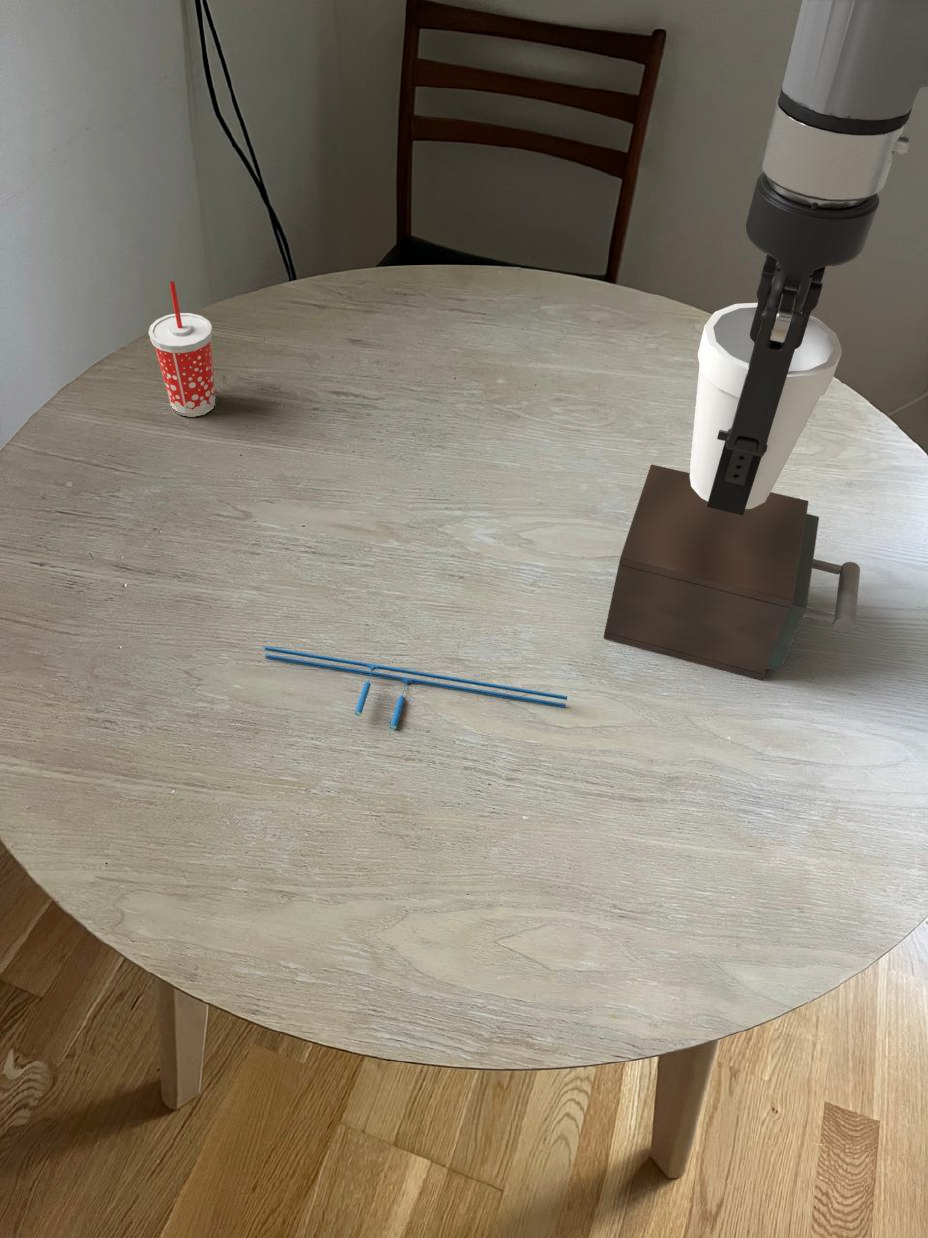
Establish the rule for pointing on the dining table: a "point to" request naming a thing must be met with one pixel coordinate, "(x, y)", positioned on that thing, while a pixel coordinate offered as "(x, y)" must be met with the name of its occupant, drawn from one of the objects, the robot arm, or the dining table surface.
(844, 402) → the dining table surface
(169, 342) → the beverage cup
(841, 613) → the drawer
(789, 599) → the cabinet
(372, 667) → the bar handle
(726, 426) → the foam cup
